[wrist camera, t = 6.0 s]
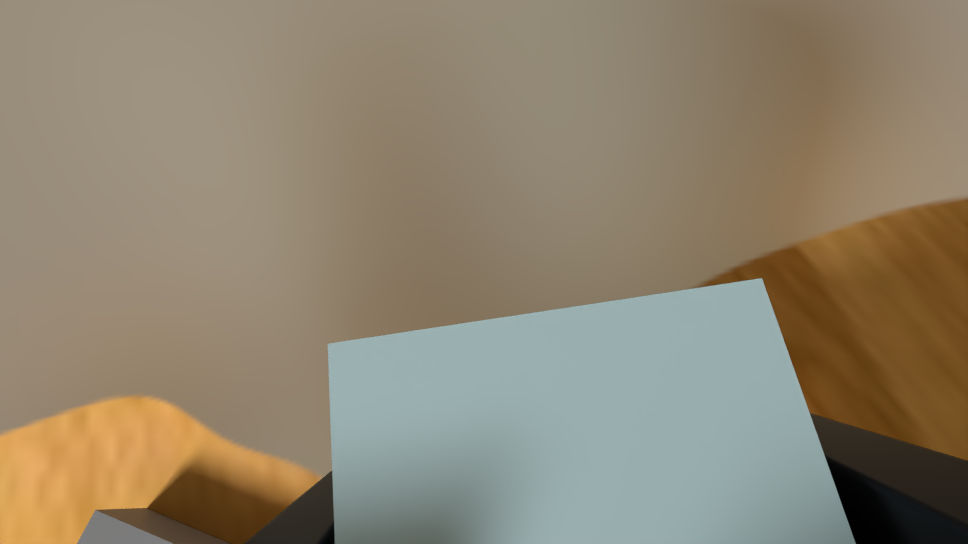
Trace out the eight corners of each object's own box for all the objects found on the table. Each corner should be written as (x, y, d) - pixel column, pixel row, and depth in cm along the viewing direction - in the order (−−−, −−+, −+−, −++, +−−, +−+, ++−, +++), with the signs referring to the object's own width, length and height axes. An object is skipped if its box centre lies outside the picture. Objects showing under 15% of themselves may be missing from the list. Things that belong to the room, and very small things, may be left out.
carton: (666, 614, 14) (973, 858, 4) (461, 646, 14) (342, 953, 4) (619, 405, 16) (765, 273, 6) (438, 433, 16) (323, 340, 6)
